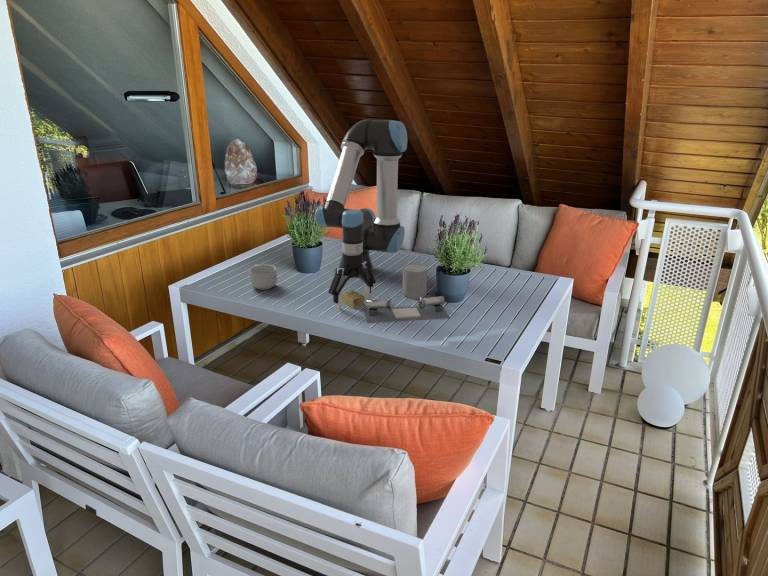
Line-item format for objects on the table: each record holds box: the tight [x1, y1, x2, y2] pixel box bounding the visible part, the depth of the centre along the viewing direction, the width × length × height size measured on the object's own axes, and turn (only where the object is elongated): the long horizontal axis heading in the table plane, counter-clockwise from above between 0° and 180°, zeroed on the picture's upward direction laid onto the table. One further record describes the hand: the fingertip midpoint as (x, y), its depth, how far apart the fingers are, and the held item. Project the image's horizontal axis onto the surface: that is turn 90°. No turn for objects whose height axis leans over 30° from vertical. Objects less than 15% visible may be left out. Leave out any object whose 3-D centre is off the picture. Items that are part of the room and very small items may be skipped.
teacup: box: [248, 264, 278, 291], centre depth 235 cm, size 14×11×8 cm
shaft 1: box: [365, 298, 392, 316], centre depth 209 cm, size 9×4×6 cm, turn 90°
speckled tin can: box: [401, 263, 428, 300], centre depth 226 cm, size 10×10×12 cm
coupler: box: [341, 289, 366, 309], centre depth 217 cm, size 8×5×5 cm, turn 37°
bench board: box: [363, 305, 451, 324], centre depth 210 cm, size 12×30×1 cm, turn 100°
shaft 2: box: [417, 295, 445, 312], centre depth 212 cm, size 9×4×6 cm, turn 110°
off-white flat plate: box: [392, 308, 420, 318], centre depth 210 cm, size 7×9×1 cm
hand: (352, 306), depth 218 cm, fingers open, 13 cm apart
